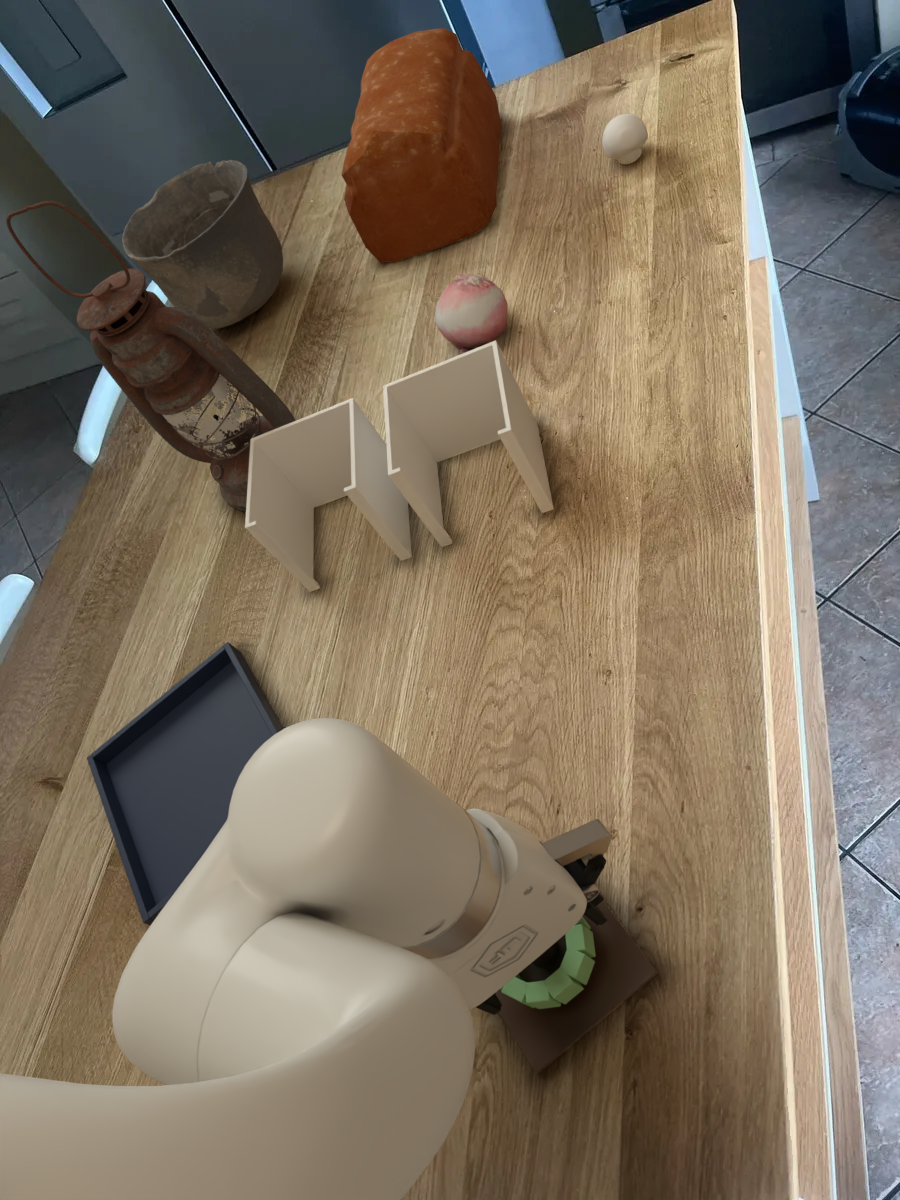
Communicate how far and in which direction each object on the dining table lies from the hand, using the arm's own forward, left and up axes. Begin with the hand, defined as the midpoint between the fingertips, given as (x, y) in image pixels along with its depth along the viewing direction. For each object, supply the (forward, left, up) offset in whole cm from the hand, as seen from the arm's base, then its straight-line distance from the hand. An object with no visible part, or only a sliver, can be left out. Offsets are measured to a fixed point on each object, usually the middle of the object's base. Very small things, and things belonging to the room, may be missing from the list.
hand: (538, 947), depth 58 cm
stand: (0, 0, -3) cm, 3 cm away
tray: (-17, +32, -3) cm, 36 cm away
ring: (0, 0, -1) cm, 1 cm away
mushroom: (+58, +63, -3) cm, 86 cm away
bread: (+43, +83, -3) cm, 94 cm away
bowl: (+16, +91, -3) cm, 92 cm away
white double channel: (+14, +41, -3) cm, 43 cm away
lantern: (+4, +61, -3) cm, 61 cm away
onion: (+31, +55, -3) cm, 63 cm away
